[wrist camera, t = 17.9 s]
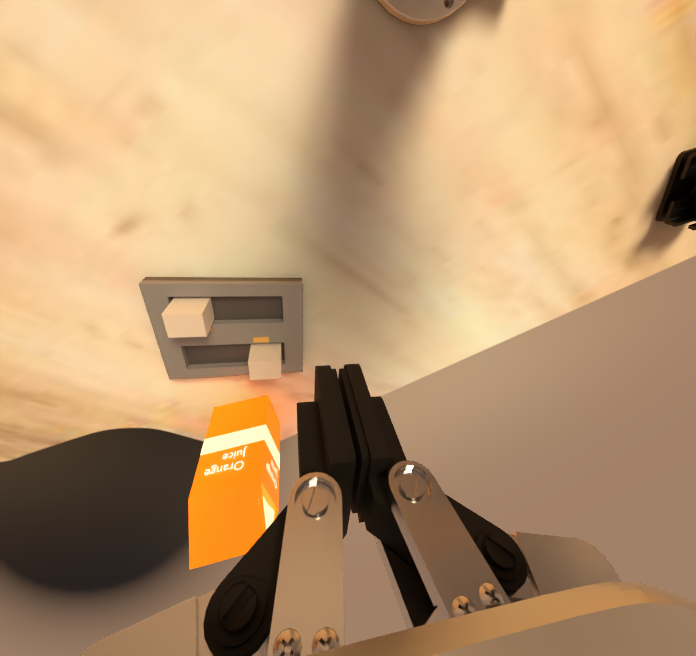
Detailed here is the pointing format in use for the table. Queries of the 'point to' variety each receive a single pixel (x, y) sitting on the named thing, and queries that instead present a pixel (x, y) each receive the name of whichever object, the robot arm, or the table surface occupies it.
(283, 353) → the switch board
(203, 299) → the tab
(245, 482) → the orange juice
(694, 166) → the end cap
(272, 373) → the tab
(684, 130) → the table surface
